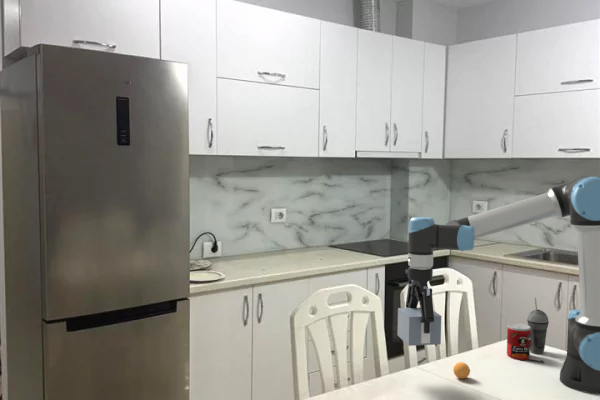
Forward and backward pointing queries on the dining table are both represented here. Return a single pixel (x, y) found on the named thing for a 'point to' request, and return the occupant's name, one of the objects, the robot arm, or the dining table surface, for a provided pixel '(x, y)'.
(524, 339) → the canned food
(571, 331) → the robot arm
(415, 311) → the slate blue cube
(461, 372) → the ball
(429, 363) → the dining table surface
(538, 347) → the beverage cup
